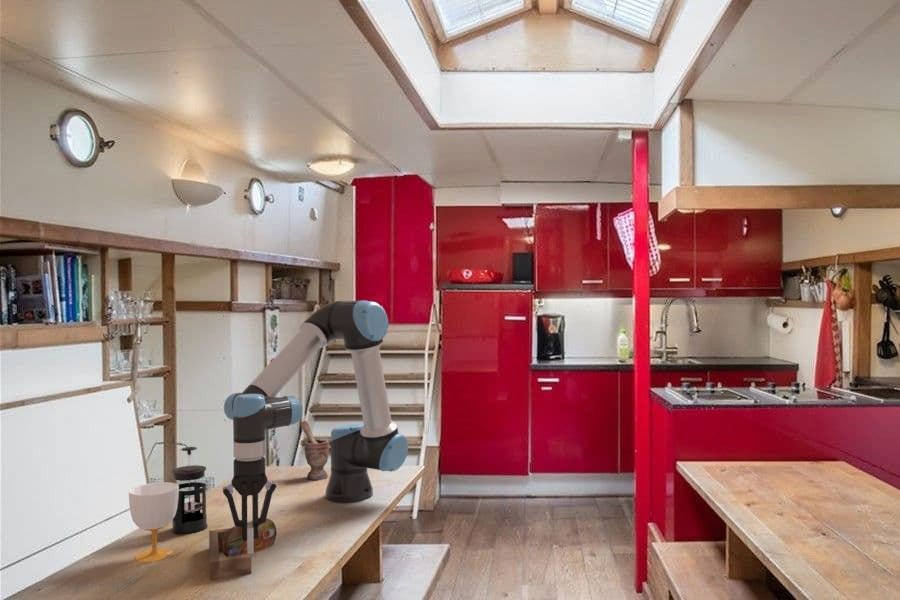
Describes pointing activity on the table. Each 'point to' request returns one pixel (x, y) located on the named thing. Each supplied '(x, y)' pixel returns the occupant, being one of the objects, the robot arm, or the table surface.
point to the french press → (189, 513)
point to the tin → (237, 546)
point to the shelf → (225, 559)
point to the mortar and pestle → (315, 454)
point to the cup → (153, 513)
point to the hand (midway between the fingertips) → (250, 552)
